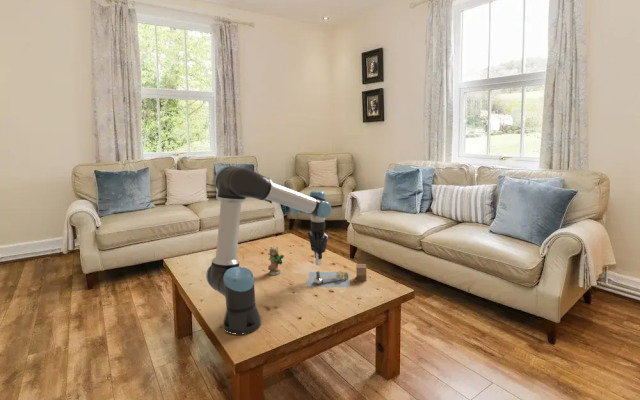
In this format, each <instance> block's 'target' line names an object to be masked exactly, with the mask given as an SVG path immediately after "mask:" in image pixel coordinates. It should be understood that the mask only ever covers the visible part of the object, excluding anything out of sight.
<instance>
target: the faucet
mask: <svg viewBox="0 0 640 400" xmlns="http://www.w3.org/2000/svg"><path fill="white" fill-rule="evenodd" d="M339 280H343V276H342V277H339V276H338V275H332V276H326V277H321V278H320V279H317V278H314V284H317V285H319V284H322V283H327V282H333V281H339Z"/></svg>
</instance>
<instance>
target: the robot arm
mask: <svg viewBox="0 0 640 400" xmlns="http://www.w3.org/2000/svg"><path fill="white" fill-rule="evenodd" d="M214 185H215V188H216V189H217V198H218V201H220V207H219V208H220V209H219V218H218V230H217V242H216V253H215V257H214V258H213V259H212V260H211V264H210V266H209V267H208V268H207V270H206V274H205V275H206V281H207V283H208V284H209V286H210V287H211V288H212V289H213V290H215V291H217V292H218V293H219V294H221V295H222V296H223V297H225V306H226V311H225V314H224V319H223V330H224V329H225V330H226V331H228V332H231V333H236V334H242V333H248V332H251V333H253V332H255V331H257V330H258V329H259V328H260V327H261V325H262V317H261V315H260V313H259V311H258V308H257V306H256V305H257V304H256V294H255V291H256V290H255V277H254V274H253V272H252V270H251V269H250V268H247V267H244V266H243V267H241V266H240V260H239V259H238V258H237V254H238V246H239V245H238V244H239V242H238V241H239V232H240V221H241V209H242V203H244V201H245V200H246V198H252V199H257V200H260V201H265V200H268V201H271V202H274V203H276V204H279V205H282V206H286V207H289V209H290V211H291V212H292V213H293V214H307V215H310V228H311V229H310V231H309V232H307V235H308V239H309V243H310V249H311V251H313V252H314V258H315V266H321V265H322V259H323V253H326V251H327V250H326V249H327V245H328V240H329V238H330V234H329V235H327V234H326V231H325V229H326V221H325V220H326V218H328V217H329V216H330V215H331V212H332V206H331V203H330V202H328V201H326V193H325V191H324V190H311V191H310V193H309V195H307V194H305V193H302V192H299V191H296V190H294V189H292V188H290V187H286V186H284V185H281V184H278V183H275V182H273V181H272V179H271V178H270V177H268V176H265V175H262V174H261V173H258V172H257V171H254V170H252V169H249V168H246V167H239V166H233V165H227V166H224V167H222V168H220V169H219V170H218V171H217V172H216V174H215V177H214ZM256 329H257V330H256ZM225 330H224V331H225ZM254 330H255V331H254ZM226 331H225V332H226ZM252 331H253V332H252ZM248 334H249V333H248Z"/></svg>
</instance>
